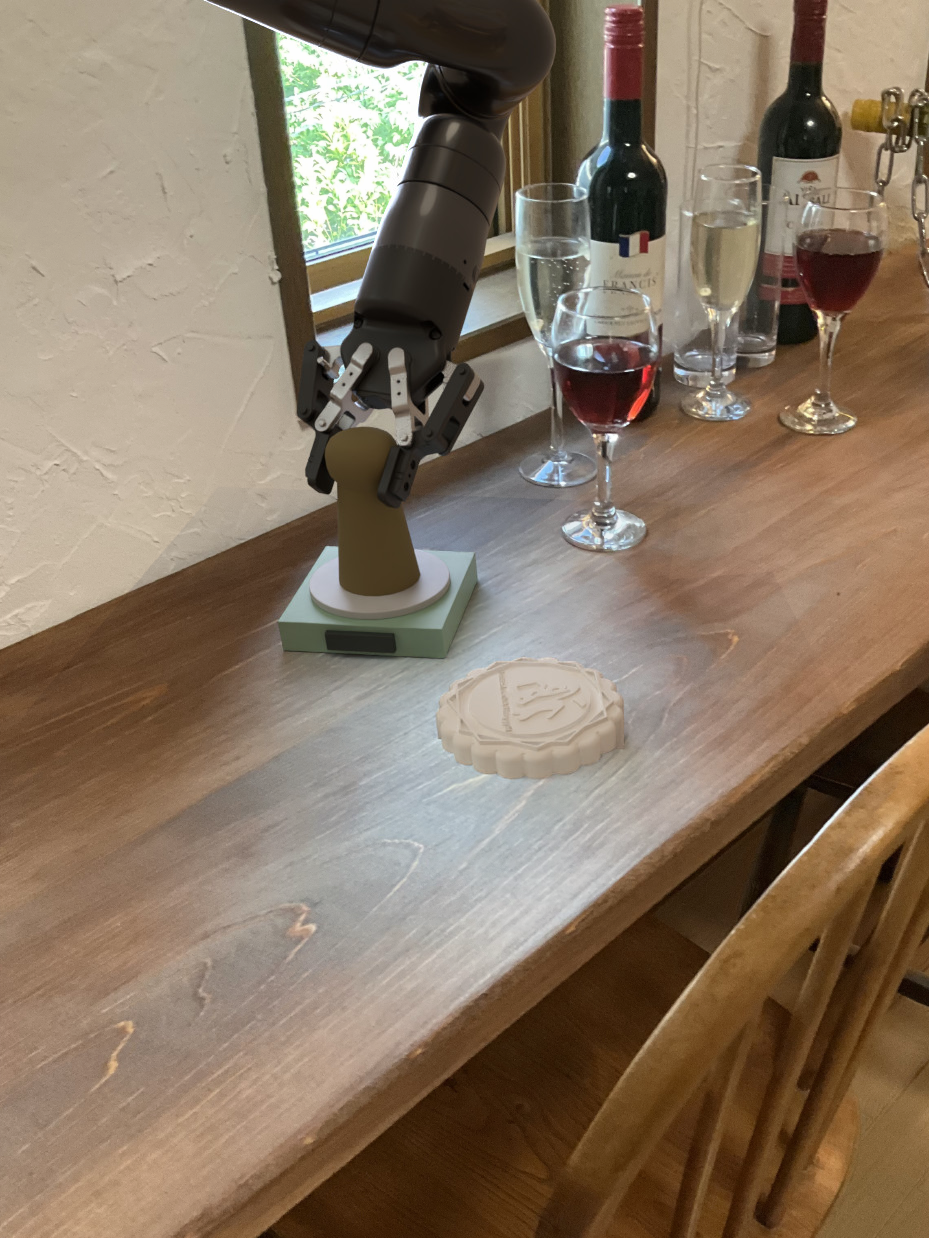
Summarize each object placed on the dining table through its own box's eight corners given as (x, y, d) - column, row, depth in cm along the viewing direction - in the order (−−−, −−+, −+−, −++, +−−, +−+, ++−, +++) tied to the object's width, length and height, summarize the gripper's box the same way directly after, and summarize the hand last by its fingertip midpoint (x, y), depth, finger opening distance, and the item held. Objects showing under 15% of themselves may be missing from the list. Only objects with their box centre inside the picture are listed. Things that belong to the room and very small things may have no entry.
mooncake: (637, 790, 79) (637, 743, 76) (443, 809, 77) (437, 761, 75) (611, 687, 88) (610, 642, 86) (437, 702, 87) (431, 656, 84)
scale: (280, 654, 92) (273, 617, 90) (330, 573, 102) (324, 538, 100) (443, 662, 91) (439, 625, 89) (477, 579, 101) (474, 544, 99)
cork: (330, 567, 96) (306, 425, 89) (407, 552, 98) (390, 411, 91) (349, 603, 92) (326, 456, 85) (430, 586, 93) (413, 441, 87)
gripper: (310, 230, 89) (237, 458, 88) (491, 251, 84) (416, 493, 83) (363, 288, 96) (296, 500, 95) (532, 310, 91) (463, 534, 90)
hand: (352, 495), depth 89 cm, fingers closed on cork, 5 cm apart
